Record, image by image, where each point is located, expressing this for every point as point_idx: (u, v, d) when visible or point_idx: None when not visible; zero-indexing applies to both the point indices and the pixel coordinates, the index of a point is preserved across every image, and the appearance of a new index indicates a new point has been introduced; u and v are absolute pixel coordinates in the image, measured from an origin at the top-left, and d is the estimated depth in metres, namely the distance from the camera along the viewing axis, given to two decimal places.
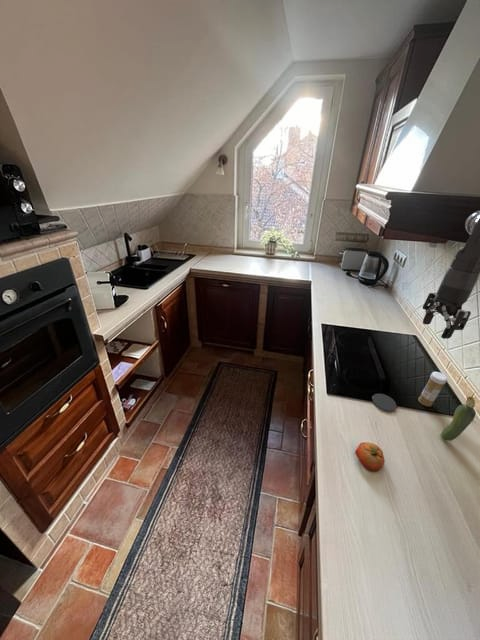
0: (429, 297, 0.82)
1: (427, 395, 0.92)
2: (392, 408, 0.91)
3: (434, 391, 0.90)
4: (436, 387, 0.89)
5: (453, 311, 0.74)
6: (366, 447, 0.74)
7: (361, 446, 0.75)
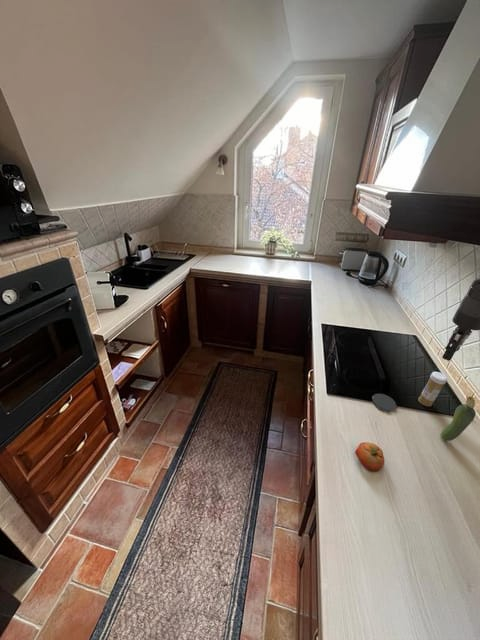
0: None
1: (427, 395, 0.92)
2: (392, 408, 0.91)
3: (434, 391, 0.90)
4: (436, 387, 0.89)
5: None
6: (366, 447, 0.74)
7: (361, 446, 0.75)
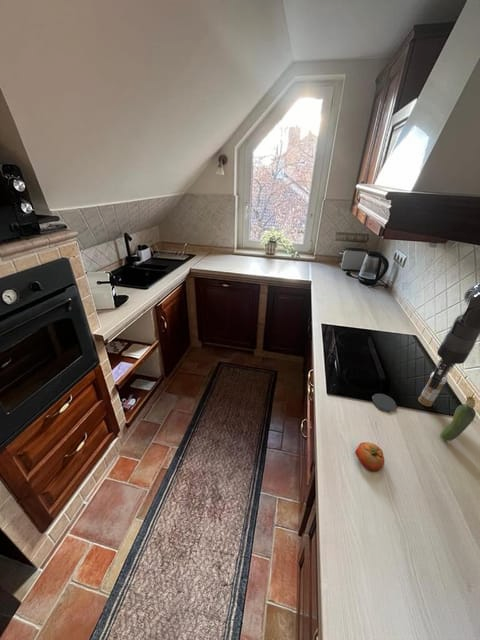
0: None
1: (427, 395, 0.92)
2: (392, 408, 0.91)
3: (434, 391, 0.90)
4: None
5: (440, 365, 0.84)
6: (366, 447, 0.74)
7: (361, 446, 0.75)
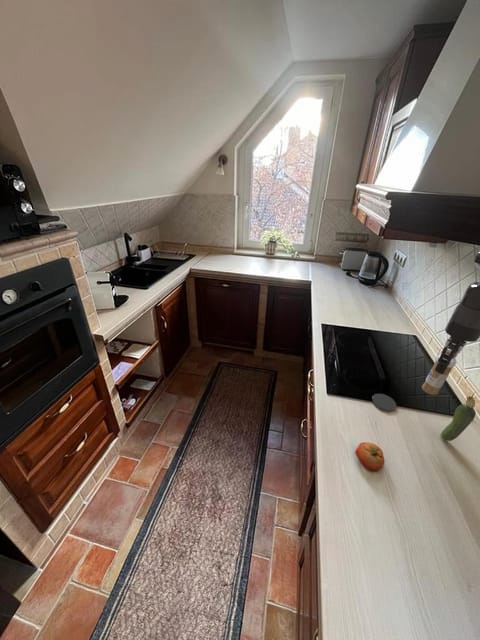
0: None
1: (433, 382, 0.78)
2: (392, 408, 0.91)
3: (441, 376, 0.76)
4: None
5: (448, 345, 0.71)
6: (366, 447, 0.74)
7: (361, 446, 0.75)
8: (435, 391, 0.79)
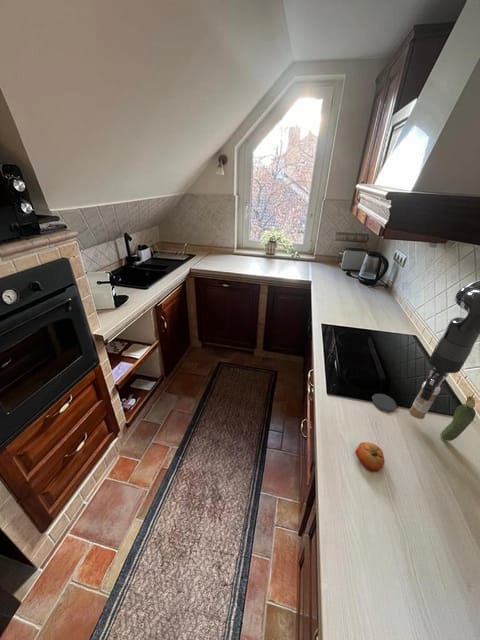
0: None
1: (419, 407, 0.82)
2: (392, 408, 0.91)
3: (426, 402, 0.80)
4: None
5: (432, 375, 0.75)
6: (366, 447, 0.74)
7: (361, 446, 0.75)
8: (421, 415, 0.84)
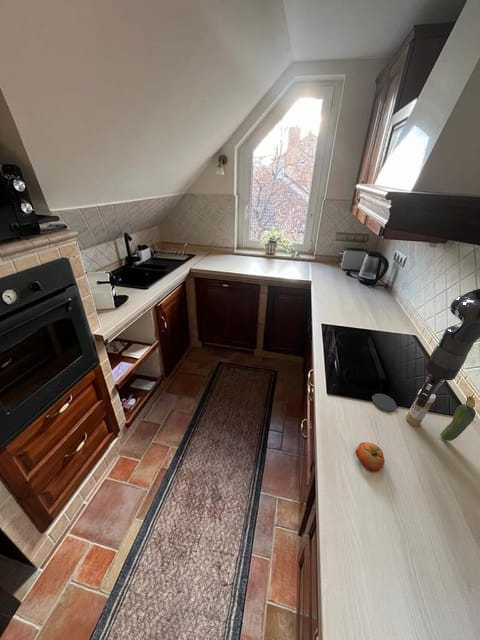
0: None
1: (415, 414, 0.84)
2: (392, 408, 0.91)
3: (422, 409, 0.82)
4: None
5: (428, 382, 0.77)
6: (366, 447, 0.74)
7: (361, 446, 0.75)
8: (417, 422, 0.85)
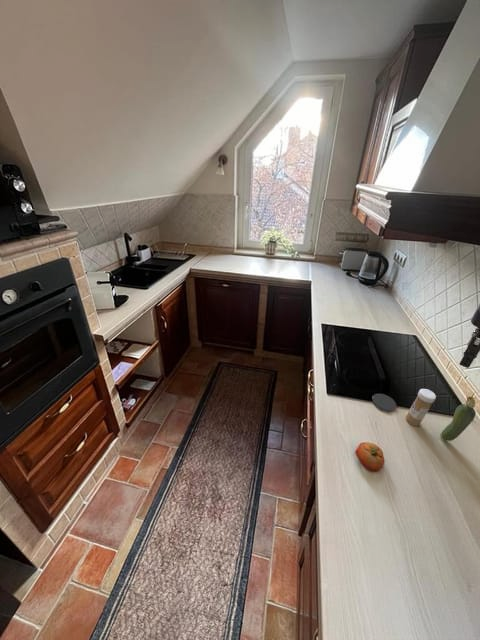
0: None
1: (415, 414, 0.84)
2: (392, 408, 0.91)
3: (422, 409, 0.82)
4: (424, 405, 0.81)
5: None
6: (366, 447, 0.74)
7: (361, 446, 0.75)
8: (417, 422, 0.85)
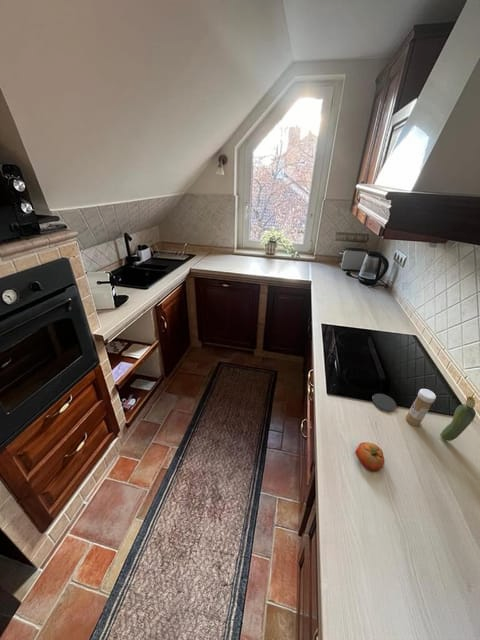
0: None
1: (415, 414, 0.84)
2: (392, 408, 0.91)
3: (422, 409, 0.82)
4: (424, 405, 0.81)
5: None
6: (366, 447, 0.74)
7: (361, 446, 0.75)
8: (417, 422, 0.85)
